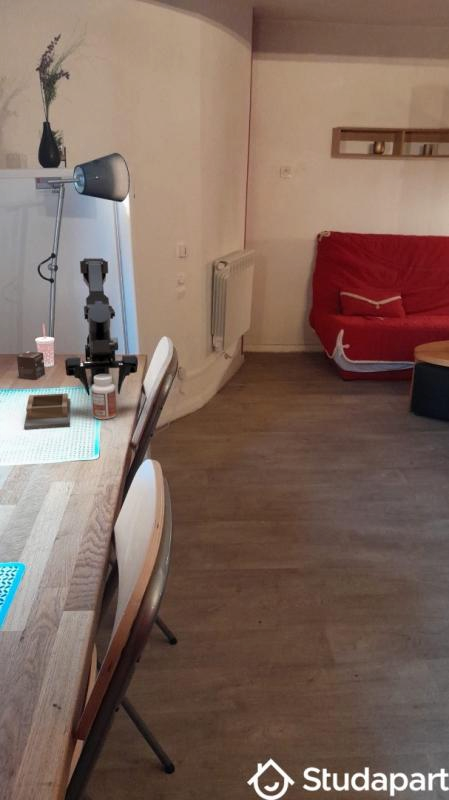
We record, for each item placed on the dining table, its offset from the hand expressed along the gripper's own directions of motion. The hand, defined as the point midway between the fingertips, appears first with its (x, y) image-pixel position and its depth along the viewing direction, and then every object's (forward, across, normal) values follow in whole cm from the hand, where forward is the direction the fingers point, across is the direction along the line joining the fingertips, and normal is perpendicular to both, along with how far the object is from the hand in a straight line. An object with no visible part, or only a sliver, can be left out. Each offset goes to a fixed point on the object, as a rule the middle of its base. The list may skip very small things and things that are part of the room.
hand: (103, 394), depth 147 cm
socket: (+2, -14, +8) cm, 17 cm away
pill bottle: (+4, 0, +6) cm, 7 cm away
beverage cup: (-31, -17, +40) cm, 54 cm away
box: (-22, -21, +32) cm, 44 cm away
